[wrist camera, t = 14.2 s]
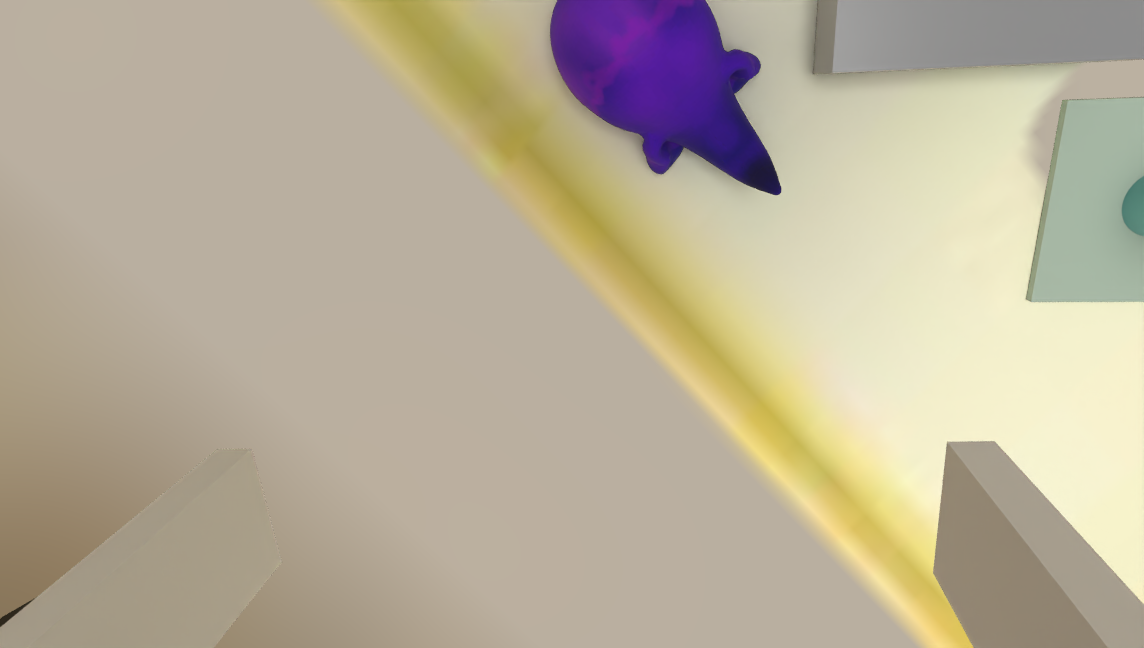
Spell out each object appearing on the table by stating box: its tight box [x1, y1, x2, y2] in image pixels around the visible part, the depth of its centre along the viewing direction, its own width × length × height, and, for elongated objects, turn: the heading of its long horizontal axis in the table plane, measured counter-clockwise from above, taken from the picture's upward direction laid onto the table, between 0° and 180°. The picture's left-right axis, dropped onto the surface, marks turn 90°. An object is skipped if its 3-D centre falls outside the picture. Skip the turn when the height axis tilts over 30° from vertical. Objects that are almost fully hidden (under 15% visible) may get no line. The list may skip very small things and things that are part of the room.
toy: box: [550, 0, 781, 195], centre depth 38 cm, size 9×10×15 cm
